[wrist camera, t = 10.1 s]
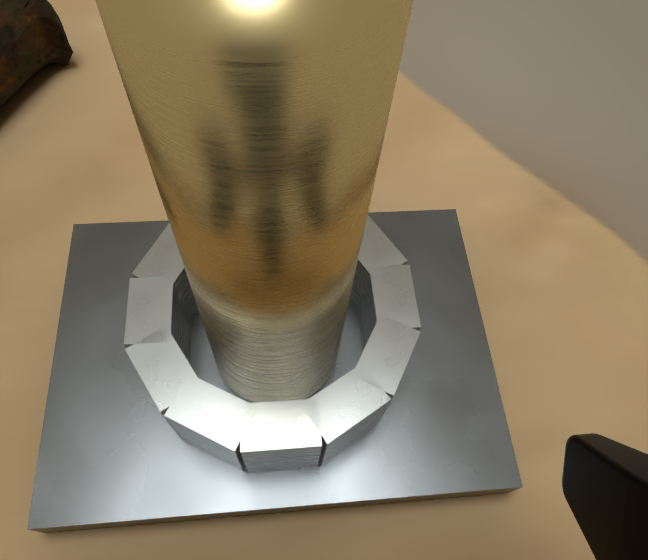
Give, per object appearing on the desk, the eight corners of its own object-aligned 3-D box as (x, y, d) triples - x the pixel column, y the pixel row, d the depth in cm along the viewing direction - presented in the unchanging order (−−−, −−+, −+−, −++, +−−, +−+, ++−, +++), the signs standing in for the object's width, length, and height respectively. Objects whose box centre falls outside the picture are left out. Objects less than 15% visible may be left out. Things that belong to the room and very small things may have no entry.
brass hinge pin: (358, 375, 18) (484, 2, 6) (240, 426, 17) (137, 95, 5) (307, 274, 19) (334, -166, 8) (197, 316, 18) (48, -118, 7)
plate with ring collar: (508, 492, 17) (567, 468, 14) (44, 532, 16) (-29, 518, 12) (447, 227, 22) (479, 156, 18) (84, 242, 21) (40, 169, 17)
